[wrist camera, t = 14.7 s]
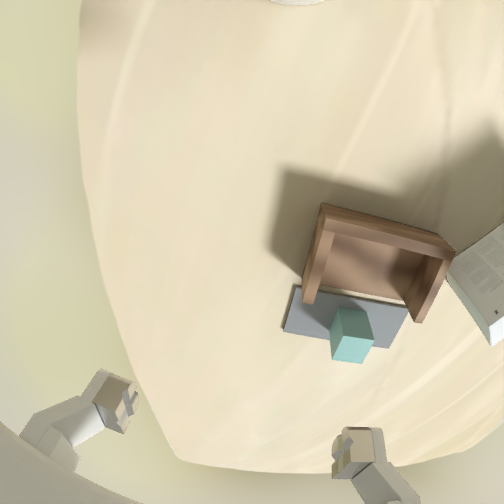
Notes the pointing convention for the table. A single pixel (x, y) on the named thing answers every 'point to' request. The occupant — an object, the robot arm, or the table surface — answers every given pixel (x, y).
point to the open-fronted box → (376, 259)
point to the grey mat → (325, 307)
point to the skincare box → (482, 283)
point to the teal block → (350, 335)
